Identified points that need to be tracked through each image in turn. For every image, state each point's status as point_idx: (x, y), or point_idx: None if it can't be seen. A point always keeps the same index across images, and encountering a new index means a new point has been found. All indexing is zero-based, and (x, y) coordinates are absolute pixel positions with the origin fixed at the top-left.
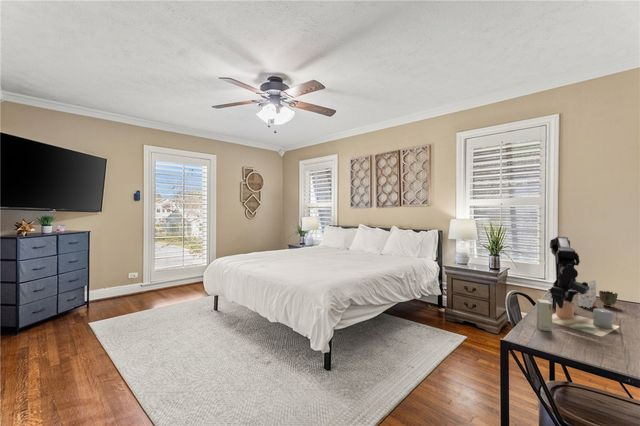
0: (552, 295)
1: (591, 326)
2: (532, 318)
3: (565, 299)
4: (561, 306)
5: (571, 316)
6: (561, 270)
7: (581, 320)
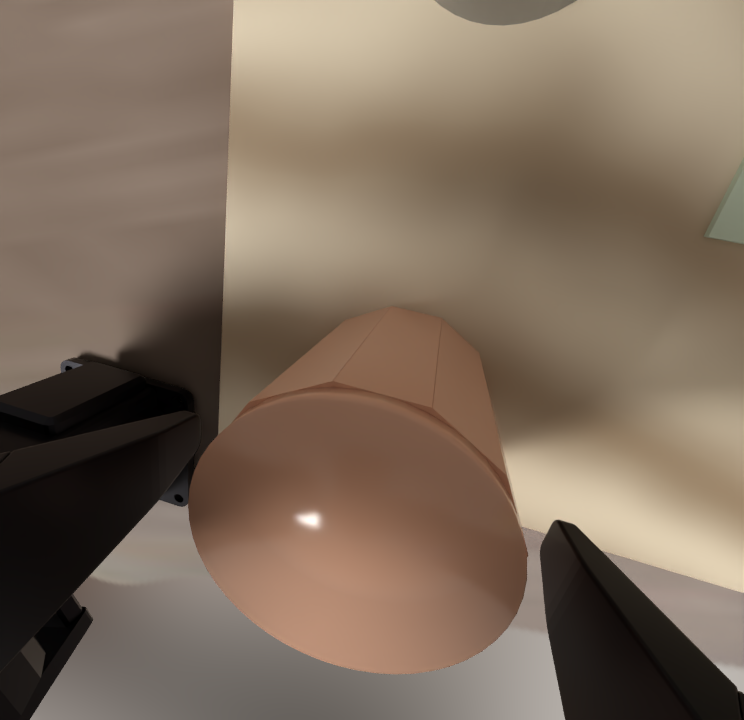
0: (52, 667)
1: (710, 8)
2: (706, 634)
3: None
4: (601, 564)
5: (445, 331)
6: None
7: (431, 205)
